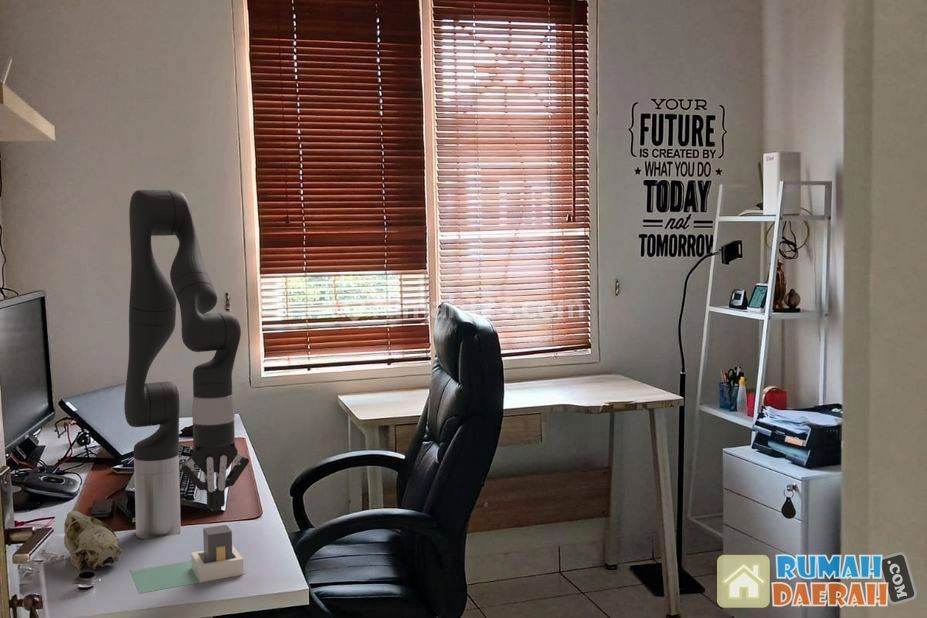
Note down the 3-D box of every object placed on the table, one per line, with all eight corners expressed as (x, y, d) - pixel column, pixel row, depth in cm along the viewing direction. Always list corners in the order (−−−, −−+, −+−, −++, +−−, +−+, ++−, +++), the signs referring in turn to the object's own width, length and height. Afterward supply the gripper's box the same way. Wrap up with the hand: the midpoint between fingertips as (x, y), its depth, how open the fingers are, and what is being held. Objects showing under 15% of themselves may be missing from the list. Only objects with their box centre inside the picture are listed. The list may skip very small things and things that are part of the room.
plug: (204, 569, 162) (203, 528, 161) (227, 565, 164) (226, 524, 163) (209, 578, 157) (208, 536, 157) (233, 573, 160) (232, 532, 159)
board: (130, 576, 161) (130, 570, 161) (231, 558, 170) (231, 553, 170) (139, 598, 151) (139, 593, 150) (246, 578, 160) (246, 573, 159)
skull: (90, 539, 176) (94, 497, 173) (130, 579, 166) (134, 534, 163) (43, 554, 168) (46, 510, 165) (81, 596, 159) (85, 550, 156)
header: (191, 567, 162) (191, 552, 162) (233, 560, 166) (233, 545, 166) (199, 582, 155) (199, 566, 155) (243, 574, 159) (243, 558, 159)
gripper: (244, 412, 165) (246, 499, 166) (173, 419, 159) (175, 509, 160) (254, 419, 159) (255, 509, 160) (180, 426, 152) (182, 520, 154)
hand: (215, 509), depth 160 cm, fingers closed
